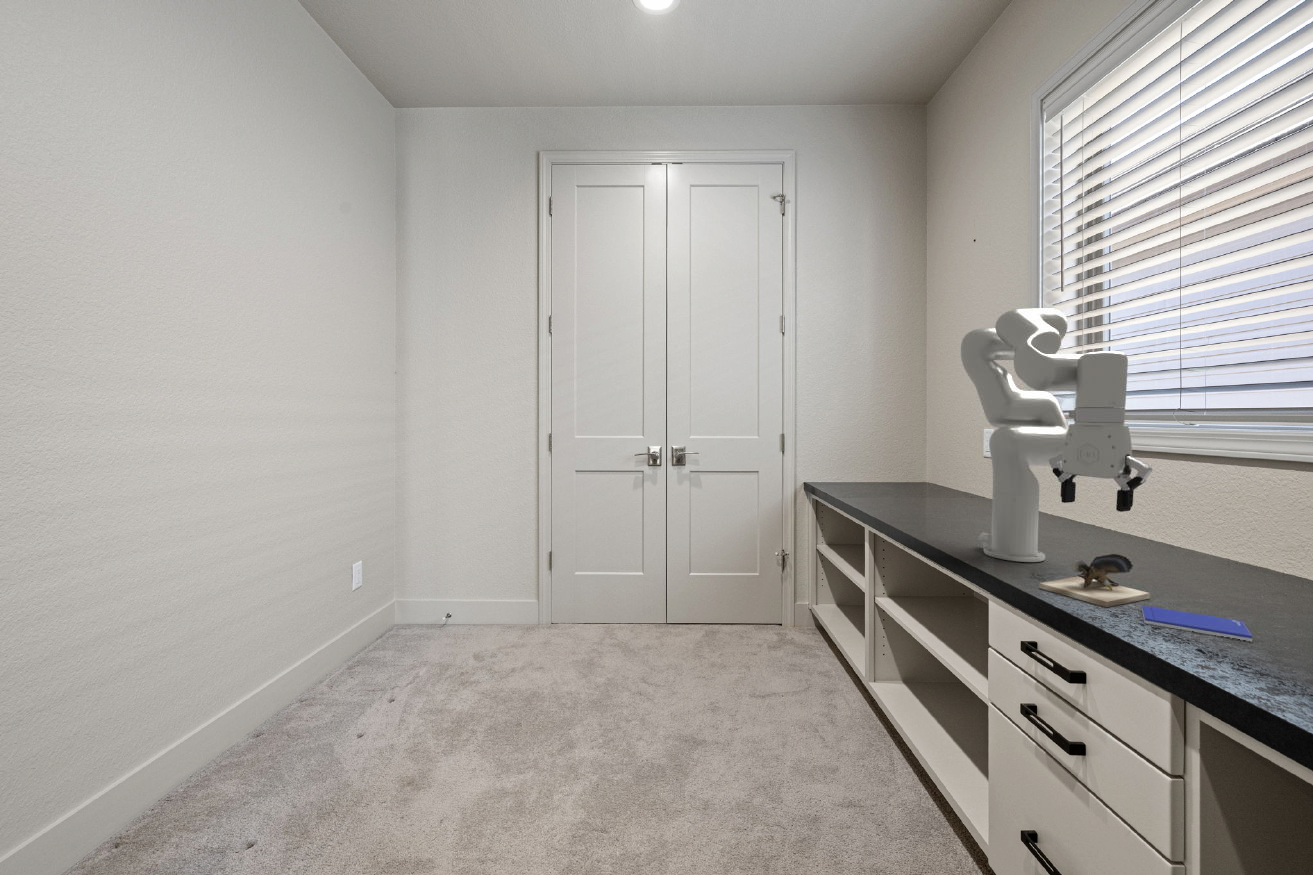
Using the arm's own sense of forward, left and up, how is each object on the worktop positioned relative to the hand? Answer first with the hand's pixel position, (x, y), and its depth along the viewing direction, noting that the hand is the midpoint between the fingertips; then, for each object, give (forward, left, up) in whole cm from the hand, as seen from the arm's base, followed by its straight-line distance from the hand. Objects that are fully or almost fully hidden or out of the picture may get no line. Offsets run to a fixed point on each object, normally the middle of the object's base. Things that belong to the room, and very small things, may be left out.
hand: (1094, 506), depth 109 cm
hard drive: (+17, -3, -18) cm, 24 cm away
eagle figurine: (0, +2, -16) cm, 16 cm away
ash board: (0, 0, -17) cm, 17 cm away
